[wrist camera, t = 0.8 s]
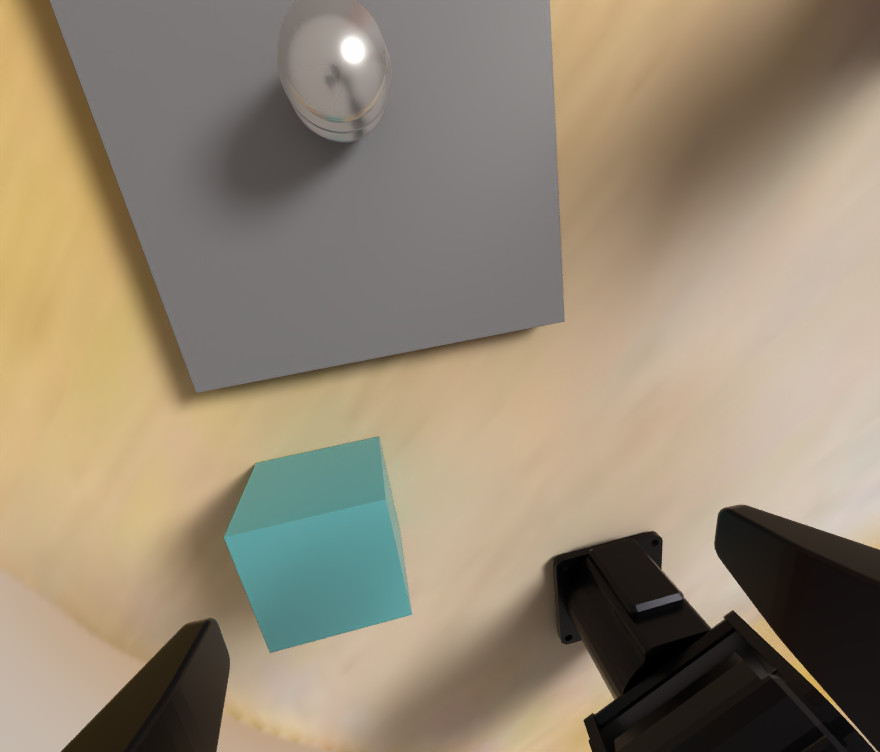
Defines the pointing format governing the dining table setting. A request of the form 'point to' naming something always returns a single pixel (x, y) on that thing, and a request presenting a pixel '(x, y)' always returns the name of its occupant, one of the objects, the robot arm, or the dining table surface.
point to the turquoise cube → (320, 544)
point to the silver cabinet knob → (334, 67)
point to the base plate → (329, 180)
